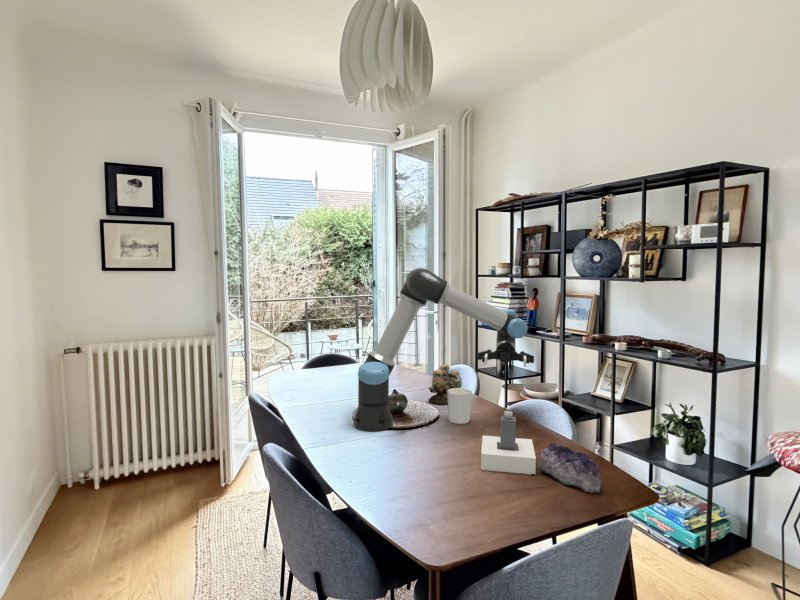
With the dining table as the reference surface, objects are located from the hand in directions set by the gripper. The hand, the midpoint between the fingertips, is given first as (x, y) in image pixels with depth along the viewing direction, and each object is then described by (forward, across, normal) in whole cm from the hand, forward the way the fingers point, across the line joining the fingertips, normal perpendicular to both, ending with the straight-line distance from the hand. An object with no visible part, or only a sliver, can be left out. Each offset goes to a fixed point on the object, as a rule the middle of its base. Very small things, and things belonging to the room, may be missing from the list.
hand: (505, 362), depth 168 cm
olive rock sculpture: (-43, +26, -29) cm, 58 cm away
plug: (+19, -2, -27) cm, 33 cm away
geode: (+27, -20, -28) cm, 44 cm away
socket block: (+19, -2, -28) cm, 34 cm away
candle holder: (-18, +17, -28) cm, 38 cm away
